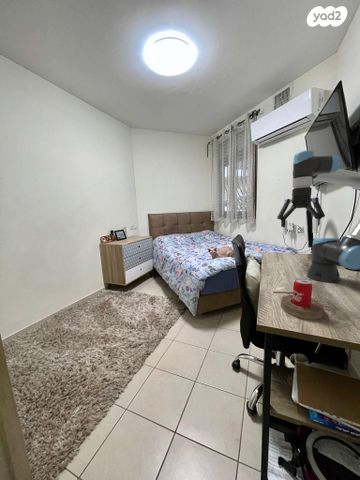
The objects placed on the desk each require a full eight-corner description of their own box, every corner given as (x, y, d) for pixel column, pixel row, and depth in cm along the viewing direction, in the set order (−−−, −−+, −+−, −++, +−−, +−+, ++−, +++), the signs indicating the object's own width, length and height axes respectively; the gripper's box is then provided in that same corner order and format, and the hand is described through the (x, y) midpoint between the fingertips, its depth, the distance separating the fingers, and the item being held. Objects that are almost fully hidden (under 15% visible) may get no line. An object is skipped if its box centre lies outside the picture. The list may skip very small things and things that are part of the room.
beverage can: (293, 304, 80) (295, 276, 79) (311, 308, 76) (313, 280, 75) (290, 310, 76) (292, 281, 74) (309, 315, 72) (311, 285, 70)
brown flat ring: (310, 301, 82) (310, 295, 82) (331, 320, 68) (332, 312, 68) (276, 300, 84) (276, 294, 83) (290, 318, 70) (290, 311, 70)
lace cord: (299, 292, 91) (299, 290, 91) (300, 293, 90) (300, 291, 90) (272, 291, 93) (272, 289, 93) (272, 292, 92) (273, 290, 92)
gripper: (325, 186, 90) (322, 231, 94) (270, 190, 93) (269, 233, 96) (336, 184, 83) (333, 233, 86) (276, 188, 85) (275, 235, 89)
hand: (299, 233), depth 91 cm, fingers open, 13 cm apart
